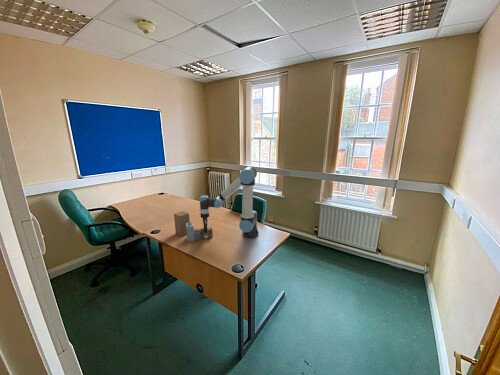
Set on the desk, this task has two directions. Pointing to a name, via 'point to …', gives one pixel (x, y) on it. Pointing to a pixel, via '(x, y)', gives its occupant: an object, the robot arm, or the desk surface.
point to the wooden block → (181, 222)
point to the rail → (209, 232)
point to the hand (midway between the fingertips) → (205, 236)
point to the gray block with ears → (191, 232)
